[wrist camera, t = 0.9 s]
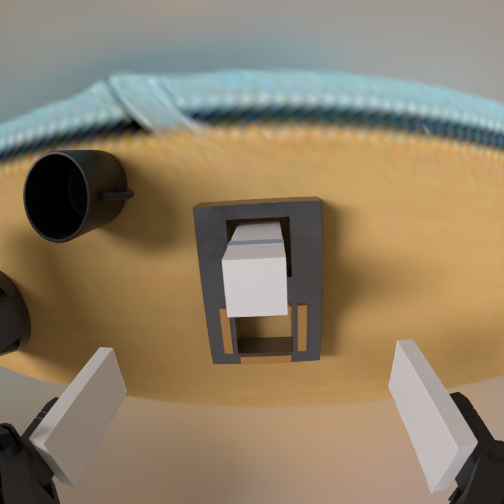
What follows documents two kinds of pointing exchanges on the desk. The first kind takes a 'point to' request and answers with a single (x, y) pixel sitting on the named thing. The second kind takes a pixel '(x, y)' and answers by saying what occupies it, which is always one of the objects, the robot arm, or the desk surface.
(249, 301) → the plug
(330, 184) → the desk surface
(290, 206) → the jack panel
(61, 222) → the mug
